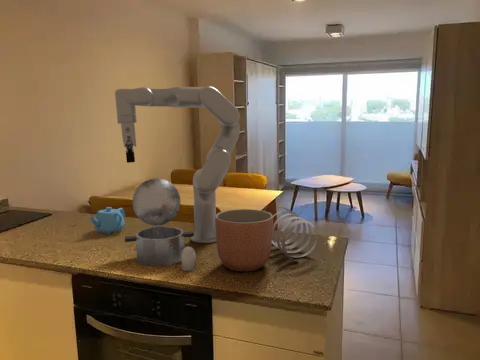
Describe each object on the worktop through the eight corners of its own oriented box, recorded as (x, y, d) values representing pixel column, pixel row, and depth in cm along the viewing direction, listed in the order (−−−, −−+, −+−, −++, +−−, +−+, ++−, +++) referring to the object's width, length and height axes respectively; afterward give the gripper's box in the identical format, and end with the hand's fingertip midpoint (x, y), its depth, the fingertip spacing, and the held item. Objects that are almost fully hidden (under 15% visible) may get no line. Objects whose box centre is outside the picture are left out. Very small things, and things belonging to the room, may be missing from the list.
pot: (190, 246, 178) (189, 223, 177) (197, 262, 159) (196, 236, 158) (126, 251, 172) (124, 227, 170) (125, 269, 153) (124, 242, 151)
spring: (263, 245, 186) (289, 269, 157) (254, 212, 182) (280, 231, 154) (296, 233, 189) (327, 255, 161) (287, 200, 186) (318, 217, 157)
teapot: (112, 224, 213) (111, 201, 211) (137, 229, 205) (135, 205, 203) (79, 234, 196) (77, 209, 194) (104, 240, 188) (103, 214, 186)
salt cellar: (194, 265, 157) (194, 244, 155) (196, 270, 152) (196, 248, 151) (180, 266, 155) (180, 245, 154) (182, 271, 151) (182, 249, 149)
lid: (181, 223, 175) (180, 223, 177) (179, 177, 176) (178, 178, 179) (133, 227, 170) (133, 227, 172) (131, 179, 172) (131, 180, 174)
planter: (255, 253, 170) (255, 206, 167) (283, 270, 151) (284, 218, 148) (207, 261, 160) (206, 212, 157) (231, 281, 142) (230, 225, 139)
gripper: (136, 119, 166) (140, 162, 169) (135, 118, 183) (139, 158, 186) (117, 120, 164) (121, 164, 167) (117, 119, 181) (121, 159, 184)
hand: (130, 161), depth 176 cm, fingers open, 9 cm apart
